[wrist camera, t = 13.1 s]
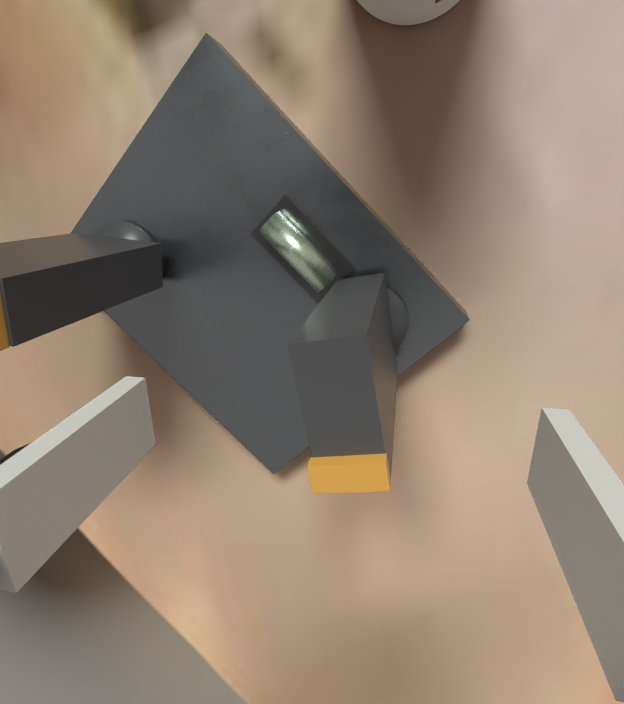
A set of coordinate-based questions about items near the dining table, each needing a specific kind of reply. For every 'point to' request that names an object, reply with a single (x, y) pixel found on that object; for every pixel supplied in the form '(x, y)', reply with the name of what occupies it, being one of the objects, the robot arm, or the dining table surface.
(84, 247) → the yellow-tipped grey bar
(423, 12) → the milk bottle
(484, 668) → the dining table surface
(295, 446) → the levelling plate
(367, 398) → the knob
